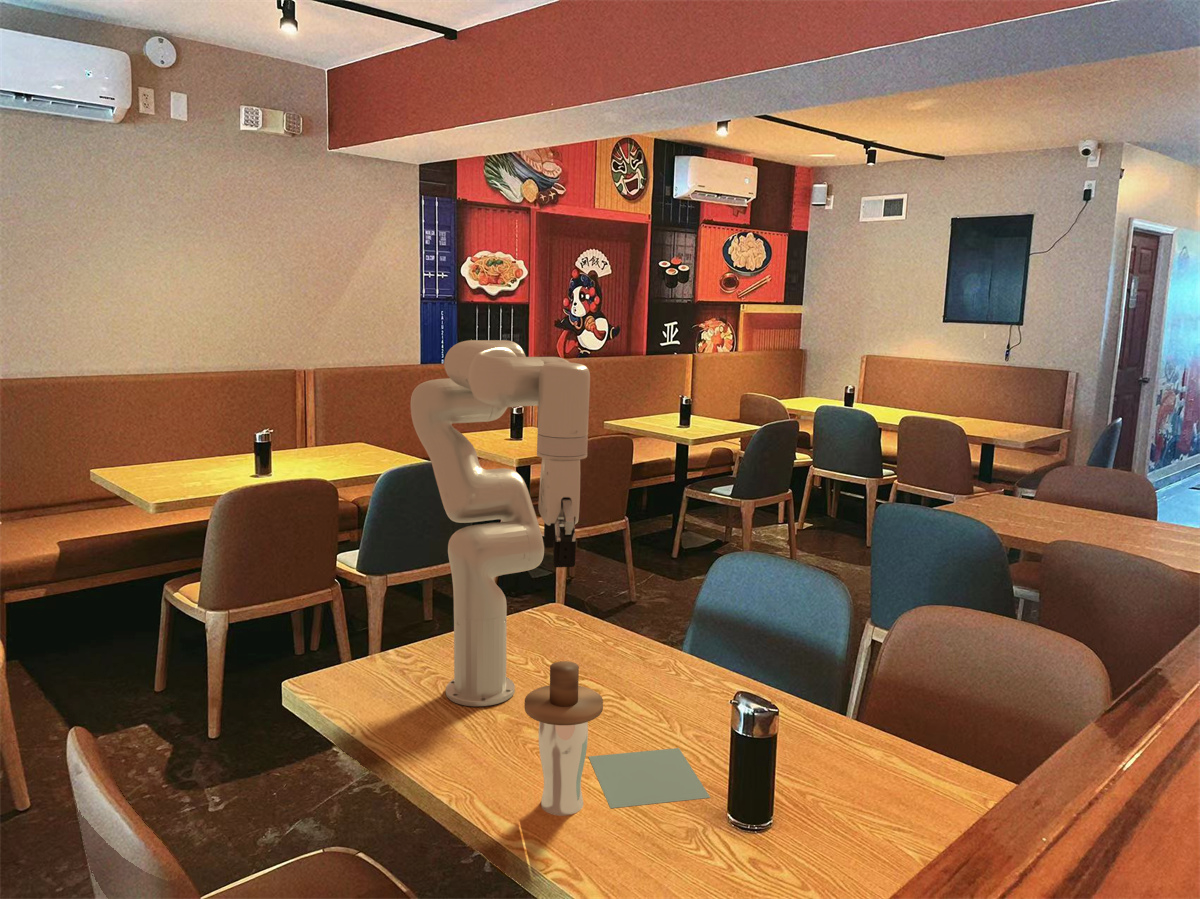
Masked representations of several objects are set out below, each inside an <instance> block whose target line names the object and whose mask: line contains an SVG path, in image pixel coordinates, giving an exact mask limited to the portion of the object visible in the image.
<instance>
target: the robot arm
mask: <svg viewBox="0 0 1200 899" xmlns="http://www.w3.org/2000/svg"><path fill="white" fill-rule="evenodd" d="M443 362H444V363H443V364H444V365H443V366H444V370H445V373H446V374H447V376H448V377H447V378H438V379H437V378H436V379H431V380H426V381H424V382H422V383H421V382H420V383H419V384H418V385H417V386H416V387H415V388H414V390H412V392H411V398H410V415H411V421H412V424H413V428H414V430H415V432H416V435H417V437H418V439H419V441H420V443H421V445H422V446H423V448H424V450H425V451H426V454H427V455H428V458H429V459H430V462H431V465H432V470H433V474H434V478H435V481H436V485H437V488H438V492H439V495H440V499H441V503H442V505H443V509H444V510H445V513H446V515H447V517H448V519H450V520H451V521H452V522H455V523H460V524H461V523H462V524H463V523H464V524H466V523H478V522H485V521H487V522H488V521H494V520H500V522H499V521H498V522H489V523H482V524H481V523H480V524H473V525H467V526H465V527H462V528H459V529H458V530H456V531H455V532H454V533H453V534H452V535H451V536H450V537H449V540H448V544H447V554H448V560H449V561H448V562H449V567H450V572H451V579H452V580H451V581H452V590H453V640H454V641H453V655H454V656H453V659H454V660H453V666H454V667H453V668H454V670H453V671H454V673H453V675H454V676H453V677H454V678H453V679H451V680H450V681H449V682H448V683H447V684H446V686H445V696H446V697H447V698H448V699H449V700H450V701H451V702H453V703H455V704H458V705H461V706H467V707H489V706H493V705H498V704H501V703H503V702H506V701H508V700H509V699H510V698H512V697H513V695H514V694H515V691H516V690H515V688H516V685H515V682H513V680H512V679H510V677H507V618H508V617H507V615H508V614H507V612H508V610H507V607H508V606H507V599H506V595H505V594H504V592H503V590H502V588H500V587H499V586H498V585H497V584H496V582H495V580H494V579H495V578H496V577H499V576H503V575H509V574H516V573H521V572H526V571H530V570H534V569H536V568H537V567H539V566H540V565H541V564H542V561H543V559H544V555H545V548H547V549H548V548H549V549H551V548H553V550H552V551H553V556H552V565H553V568H574V567H575V566H576V554H577V553H576V549H577V548H576V547H577V546H576V544H577V540H576V539H577V538H576V526H575V525H576V524H578V522H579V520H580V519H579V517H580V501H581V460H584V459H586V458H587V457H588V446H589V445H588V443H589V441H588V438H589V420H590V419H589V415H590V413H589V412H590V410H589V409H590V390H591V373H590V370H589V368H588V367H587V366H586V365H585V364H581V363H578V362H570V361H569V360H567V359H566V358H562V357H559V356H527V355H526V353H525V351H524V349H523V348H522V347H521V346H520V345H519V344H518V343H516V342H515V341H511V340H507V339H506V340H505V339H502V340H501V339H499V340H498V339H497V340H496V339H493V340H492V339H490V340H489V339H488V340H487V339H485V340H483V339H482V340H477V339H473V340H472V339H469V340H464V341H460V342H458V343H456V344H454V345H452V347H450V348H449V349H448V351H447V353H446V354H445V357H444V361H443ZM534 406H535V407H537V439H536V440H537V442H536V444H537V445H536V457H539V458H541V464H540V465H541V466H540V474H539V475H540V477H539V490H538V493H539V494H538V504H537V505H538V508H537V509H538V512H539V515H540V517H541V519H542V520H543V522H544V523H543V525H544V526H543V527H544V528H543V534H542V531H541V528H540V524H539V521H538V519H537V514H536V511H535V508H534V505H533V502H532V499H531V496H530V492H529V489H528V487H527V484H526V482H525V479H524V478H523V477H522V476H521V475H520V474H519V473H518V472H517V471H516V470H514V469H512V468H505V467H503V468H490V469H485V468H483V467H482V466H481V464H480V462H479V458H478V454H477V451H476V448H475V447H474V445H473V443H472V442H471V441H470V440H469V439H468V438H467V437H466V436H465V435H464V434H463V433H461V432H460V431H459V430H458V429H456V428H455V427H454V426H453V424H468V423H484V422H485V423H487V422H493V421H496V420H498V419H499V418H501V417H502V416H503V415H504V414H505V412H506V411H507V409H508V408H514V407H515V408H516V407H534Z"/></svg>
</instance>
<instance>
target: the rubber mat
mask: <svg viewBox="0 0 1200 899" xmlns="http://www.w3.org/2000/svg"><path fill="white" fill-rule="evenodd" d="M587 757H588V759H589V762H590V764H591V766H592V769H593V771H594V773H595V776H596V778H597V780H598V783H599V785H600V787H601V790H602V792H603V794H604V797H605V799H606V801H607V805H608V806H609V808H610V810H611V809H620V808H627V807H629V808H630V807H639V806H647V805H657V804H665V803H666V804H667V803H674V802H675V803H677V802H685V801H692V800H703V799H711V796H710V794H709V793H708V792H707V790H706V788H705V787H704V785H703V783H702V782H701V780H700V778H698V775H697V774H696V773H695V771H694V769H693V768H692V766H691V765H690V763H689V761H688V760H687V759H686V757H685V755H684V753H683V752H682V750H681V749H680V747H676V748H675V747H674V748H664V749H663V748H662V749H654V750H643V751H634V752H633V751H632V752H623V753H621V752H620V753H611V754H610V753H609V754H602V755H601V754H600V755H589V756H587Z"/></svg>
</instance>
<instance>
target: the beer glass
mask: <svg viewBox="0 0 1200 899" xmlns="http://www.w3.org/2000/svg"><path fill="white" fill-rule="evenodd" d="M588 739H589V724H588V722H586V723H582V724H577V725H551V724H546V723H542V722H539V721H538V749H539V750H538V751H539V756H540V757H539V758H540V762H541V767H542V774H543V775H542V776H543V791H542V795H541V801H540V807H541V809H542V810H543V812H544V811H545V812H546V813H547V814H549V815H550V814H551V815H552V816H553V815H554V816H560V817H564V816H572V815H574V814H577V813H578V812H580V811H581V810H582V809H583V807H584V799H583V793H582V776H583V770H584V765H585V761H586V756H587V752H588V751H587V749H588V741H589V740H588Z"/></svg>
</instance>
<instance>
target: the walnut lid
mask: <svg viewBox="0 0 1200 899" xmlns="http://www.w3.org/2000/svg"><path fill="white" fill-rule="evenodd" d="M579 666H580V665H579V664H578V663H576V662H572V661H568V660H562V661H557V662H553V663H551V664H550V668H549V685H544V686H540V687H538V688H536V689H533V690H532V691H530V692H529V693H528V694H526V696H525V698H524V707H523V708H524V712H525V713H526V715H528V716H529V718H531V719H533V720H535V721H537V722H538V723H539V722H542V723H546V724H551V725H577V724H582V723H586V722H591V721H593V720H595V719H596V718H599V716H601V714H602V713H603V709H604V699H603V697H602V696H601V694H600V693H598V692H597V691H595V690H593V689H592V688H589V687H586V686H584V685H583V686H582V685H579V677H580V676H579V672H580V671H579V670H580V668H579Z"/></svg>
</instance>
